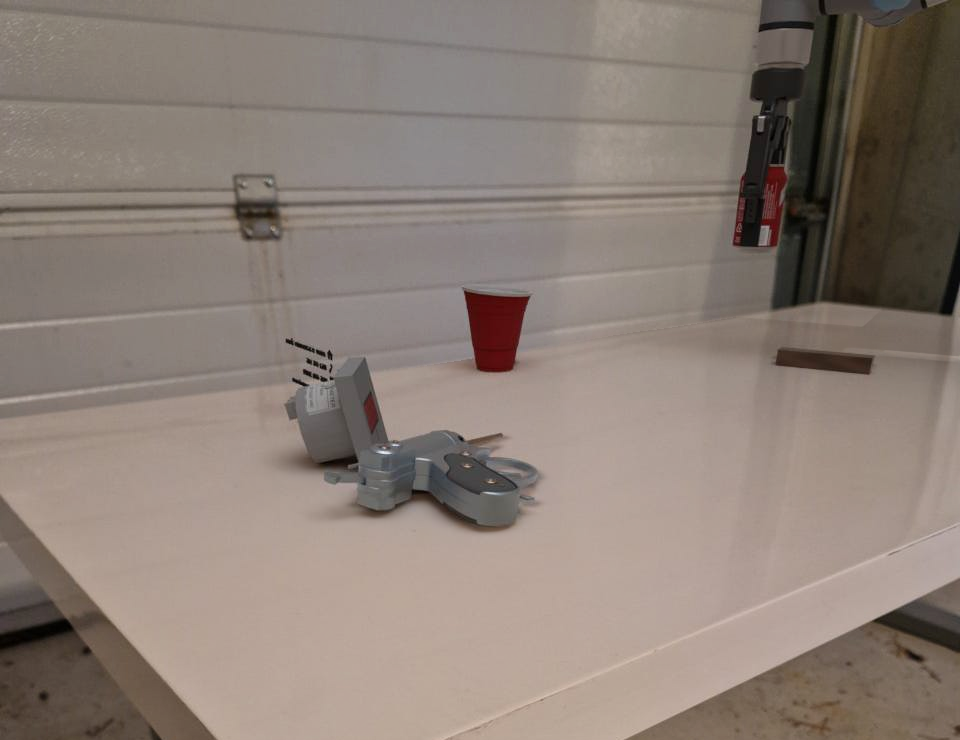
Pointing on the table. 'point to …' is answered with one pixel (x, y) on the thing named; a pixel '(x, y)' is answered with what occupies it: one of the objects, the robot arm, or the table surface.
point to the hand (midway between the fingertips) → (755, 244)
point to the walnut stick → (825, 360)
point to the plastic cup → (495, 323)
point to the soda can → (765, 212)
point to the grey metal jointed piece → (441, 476)
